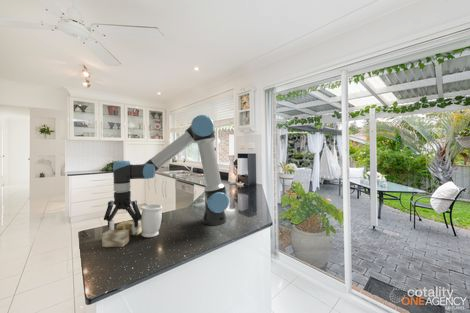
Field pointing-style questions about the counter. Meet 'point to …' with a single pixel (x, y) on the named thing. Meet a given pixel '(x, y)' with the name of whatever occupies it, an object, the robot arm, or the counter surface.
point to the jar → (151, 220)
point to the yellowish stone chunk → (124, 226)
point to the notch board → (118, 236)
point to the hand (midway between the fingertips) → (123, 233)
